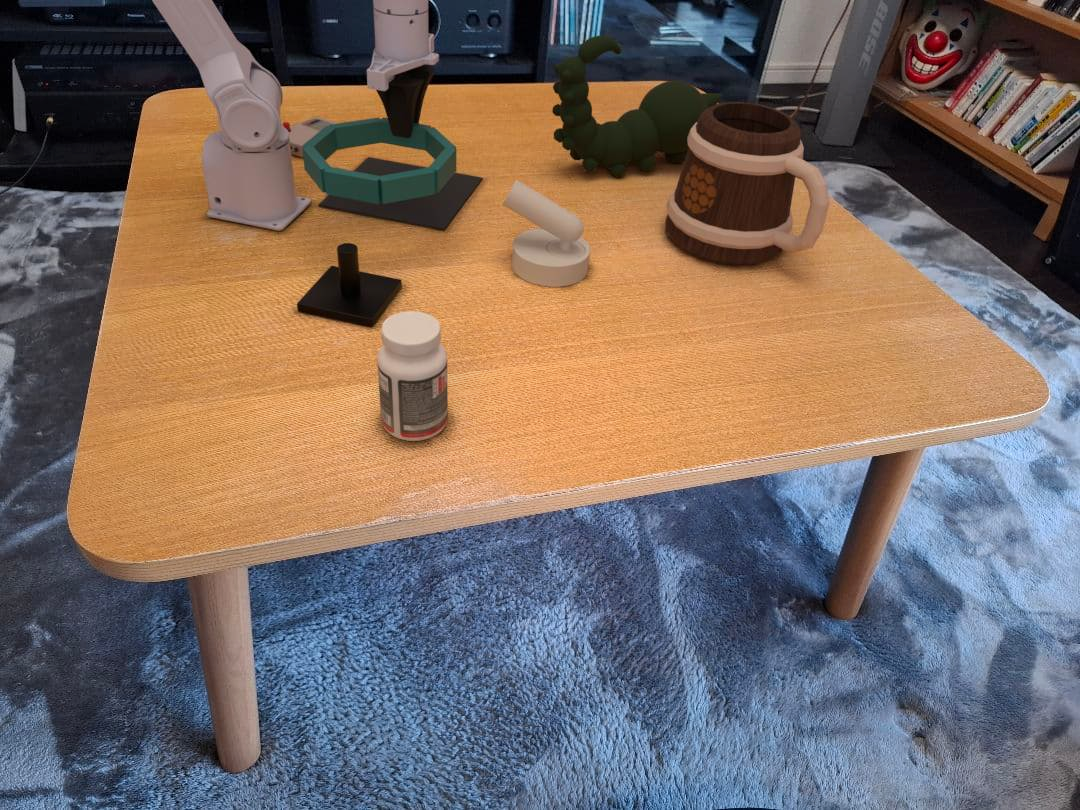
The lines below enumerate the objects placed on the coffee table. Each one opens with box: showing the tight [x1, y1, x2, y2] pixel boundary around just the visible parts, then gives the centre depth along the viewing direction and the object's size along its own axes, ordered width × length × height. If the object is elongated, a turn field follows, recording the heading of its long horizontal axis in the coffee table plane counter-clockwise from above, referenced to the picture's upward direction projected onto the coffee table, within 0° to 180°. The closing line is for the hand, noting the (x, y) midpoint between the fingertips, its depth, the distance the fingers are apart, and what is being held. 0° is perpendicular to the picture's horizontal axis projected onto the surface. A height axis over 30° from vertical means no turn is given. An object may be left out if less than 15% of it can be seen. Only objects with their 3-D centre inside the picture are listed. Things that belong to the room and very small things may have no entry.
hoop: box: [302, 116, 457, 204], centre depth 94 cm, size 15×15×3 cm
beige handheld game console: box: [282, 116, 338, 158], centre depth 117 cm, size 7×16×3 cm, turn 148°
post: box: [296, 242, 403, 328], centre depth 87 cm, size 8×8×6 cm
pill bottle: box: [376, 310, 449, 442], centre depth 72 cm, size 6×6×10 cm
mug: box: [664, 101, 830, 267], centre depth 99 cm, size 20×15×15 cm
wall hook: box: [502, 179, 591, 288], centre depth 94 cm, size 9×10×10 cm
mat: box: [318, 156, 483, 231], centre depth 108 cm, size 16×15×1 cm
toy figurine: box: [552, 34, 724, 178], centre depth 114 cm, size 9×19×25 cm
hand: (404, 133), depth 99 cm, fingers closed on hoop
